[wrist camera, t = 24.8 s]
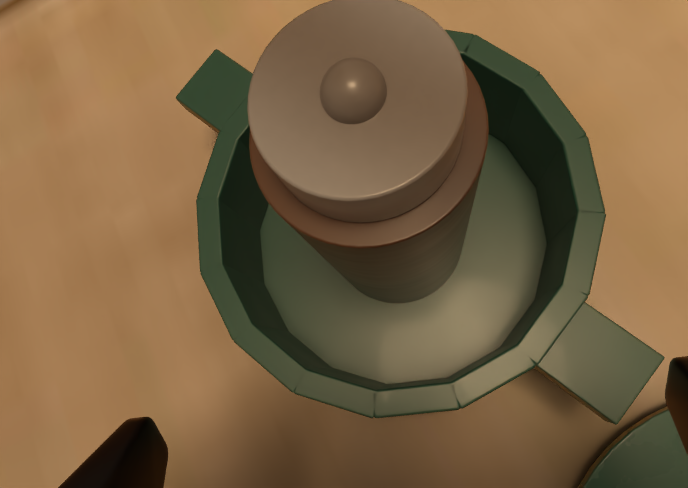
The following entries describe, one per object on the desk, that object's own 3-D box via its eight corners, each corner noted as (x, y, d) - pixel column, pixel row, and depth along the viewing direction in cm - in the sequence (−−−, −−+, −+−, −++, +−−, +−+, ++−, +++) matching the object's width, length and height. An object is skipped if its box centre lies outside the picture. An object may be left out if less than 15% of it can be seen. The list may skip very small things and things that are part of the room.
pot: (493, 529, 19) (513, 585, 14) (144, 233, 24) (71, 200, 19) (697, 247, 20) (780, 211, 15) (323, 14, 25) (296, -71, 20)
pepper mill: (418, 329, 21) (395, 279, 8) (310, 260, 22) (153, 129, 10) (486, 218, 21) (560, 18, 9) (377, 157, 22) (309, -93, 10)
